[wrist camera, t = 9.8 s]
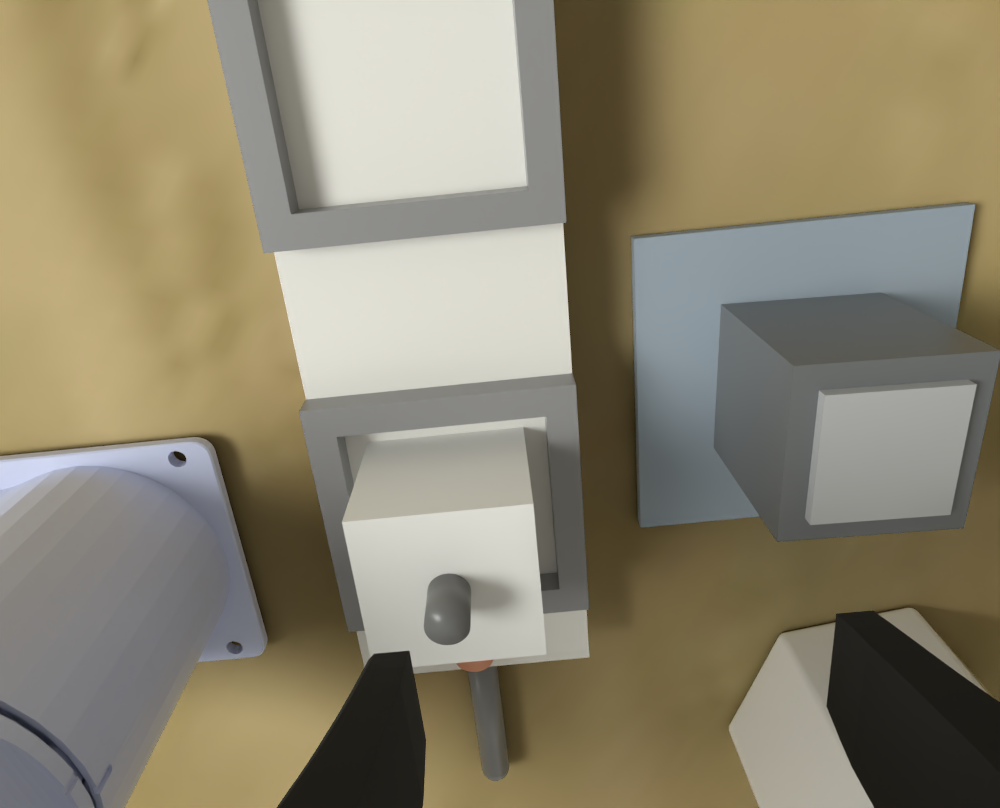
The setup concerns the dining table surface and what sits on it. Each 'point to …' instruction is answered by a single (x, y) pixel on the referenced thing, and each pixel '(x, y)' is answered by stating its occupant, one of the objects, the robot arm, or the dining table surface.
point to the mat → (751, 278)
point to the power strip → (420, 255)
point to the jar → (810, 719)
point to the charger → (850, 414)
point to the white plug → (447, 548)
